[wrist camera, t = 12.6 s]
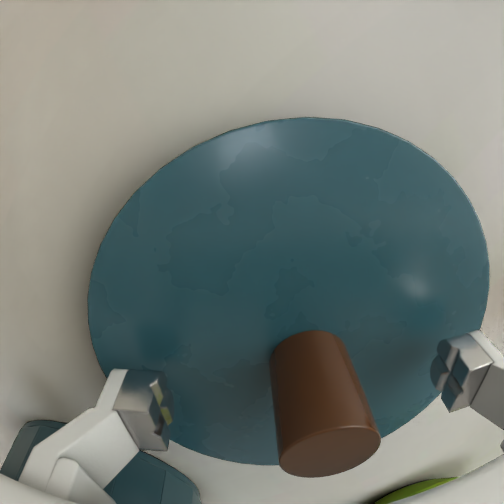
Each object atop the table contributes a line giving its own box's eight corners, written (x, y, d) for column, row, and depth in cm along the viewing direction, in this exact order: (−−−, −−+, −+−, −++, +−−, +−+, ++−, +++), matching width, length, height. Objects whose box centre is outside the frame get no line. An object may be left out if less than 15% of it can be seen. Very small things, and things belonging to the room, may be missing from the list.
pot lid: (157, 448, 13) (142, 526, 8) (59, 150, 7) (-58, 185, 3) (424, 419, 13) (455, 486, 8) (492, 134, 7) (599, 159, 3)
